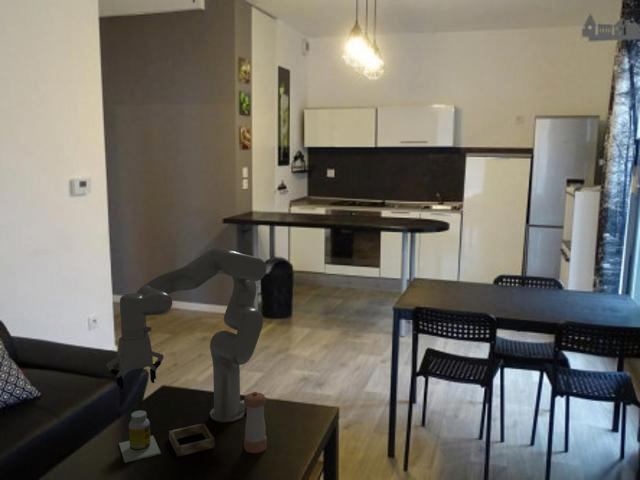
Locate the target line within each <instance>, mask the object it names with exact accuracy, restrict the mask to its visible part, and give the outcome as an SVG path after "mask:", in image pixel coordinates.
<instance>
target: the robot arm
mask: <svg viewBox="0 0 640 480" xmlns="http://www.w3.org/2000/svg"><path fill="white" fill-rule="evenodd" d="M266 273H267V265H266V263H265V261H264V260H263V259H262V258H260V257H256V256H252V255H248V254H244V253H241V252H238V251H234V250H230V249H226V248H222V247H213V248H210V249H209V250H207V251H206V252H204V253H203V254H201V255H199V257H197V258H195V259H194V260H192V261H191V262H189V263H187V264H186V265H184V266H182V267H180V268H177V269H174V270H171V271H168V272H166V273H163V274H161V275H159V276H156V277H154V278H153V279H151V280H149V281H147V283H145V284H144V285H142V286H141V287H140V288H138V290H137V291H136V292H135V293H134V292H130V293H127V294H123V295H122V296H120V299H119V314H120V328H121V330H120V333H121V336H120V337H119V338H118V343H117V344H118V345H117V356H116V357H115V358H113V359H112V360H110V361H108V362H107V363H106V367H107V369H108V371H109V372H110V373H111V374H113V375H114V376H115V377H116V385H117V387H119V388H120V390H123V389H124V382H123V380H124V379H123V376H122V375H123V373H124V372H125V371H131V370H137V369H142V368H147V367H148V368H150V369H149V379H150V382H151V383H152V384H154V383H155V380H156V379H157V370H158V368H159V367H160V366H161V364H162V362H163V360H164V354H162V353H160V352H156V351H153V349H152V344H151V338H150V335H149V334H148V333H149V332H152V327H150V326H147V316H148V317H149V316H160V315H164V314H166V313H168V312H169V311H170V310H171V309H172V306H173V300H172V297H171V295H170V294H173V293H176V292H181V291H190V290H195V289H198V288H200V287H201V286H203V285H204V284H206V283H207V282H208V281H209V280H212V278H214V277H216V276H217V275H219V274H222V275H225V276H230V277H232V280H233V289H232V293H231V295H230V298H229V301H228V304H227V307H226V310H225V312H224V316H223V322H224V324H225V325H226V326H227V327H228V328H230V329H233V330H235V331H236V333H234V332H232V331H228V330H220V331H217V332H215V333H214V334H213V335H212V337H211V339H210V342H209V349H210V356H211V359H212V360H211V361H212V371H213V379H212V380H213V408H212V409H210V412H209V417H210V419H212V421H214V422H219V423H230V422H231V423H233V422H236V421H239V420H241V419H242V418H243V417H244V416H245V414H246V412H245V411H246V410H245V409H246V408H247V406H246V405H245V403H244V399H243V400H241V379H240V378H241V370H240V368H241V367H240V366H241V365H245V364H247V363H248V362H249V361H250V360H251V358H252V356H253V354H254V352H255V349H256V346H257V344H258V340H259V339H260V335H261V333H262V329H263V325H264V318H263V314H262V313H261V311H260V310H258V309H257V308H255V307H254V302H255V299H256V295H257V283H256V282H258V281H260V280H262V279H263V278H264V277H265V275H266ZM154 358H157V360H156V361H155V362H154ZM117 364H118V368H117V369H116V368H114V366H115V365H117Z"/></svg>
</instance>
